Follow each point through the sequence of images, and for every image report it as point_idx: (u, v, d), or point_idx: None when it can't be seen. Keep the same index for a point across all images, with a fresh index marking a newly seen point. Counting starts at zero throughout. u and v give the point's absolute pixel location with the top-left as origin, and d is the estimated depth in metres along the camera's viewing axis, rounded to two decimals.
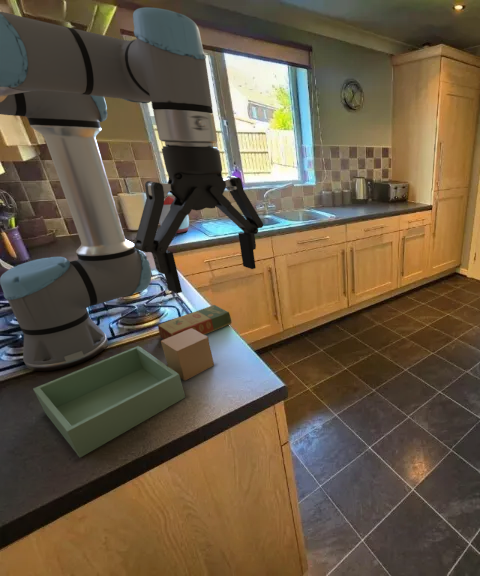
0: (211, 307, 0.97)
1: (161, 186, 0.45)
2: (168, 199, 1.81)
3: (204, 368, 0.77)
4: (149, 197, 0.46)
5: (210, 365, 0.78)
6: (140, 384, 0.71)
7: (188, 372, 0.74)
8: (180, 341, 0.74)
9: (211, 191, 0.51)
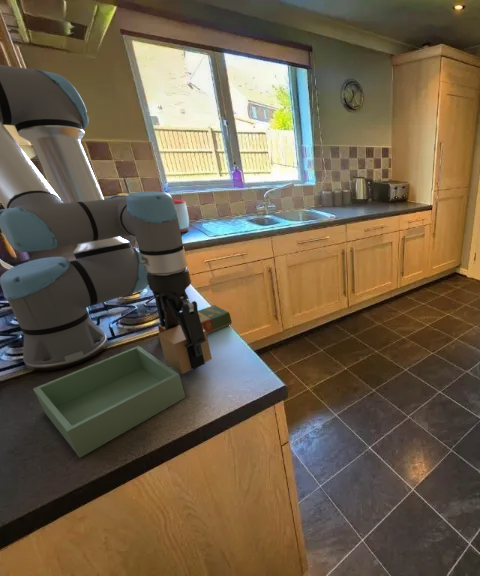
0: (211, 307, 0.97)
1: (154, 291, 0.72)
2: None
3: None
4: None
5: (208, 359, 0.78)
6: (140, 384, 0.71)
7: (185, 365, 0.73)
8: (178, 334, 0.73)
9: (166, 301, 0.69)
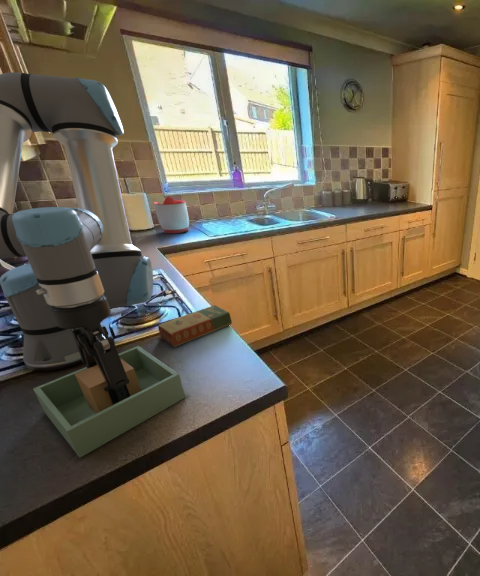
0: (211, 307, 0.97)
1: None
2: (168, 199, 1.81)
3: None
4: None
5: None
6: (140, 384, 0.71)
7: None
8: (98, 375, 0.62)
9: (78, 337, 0.57)
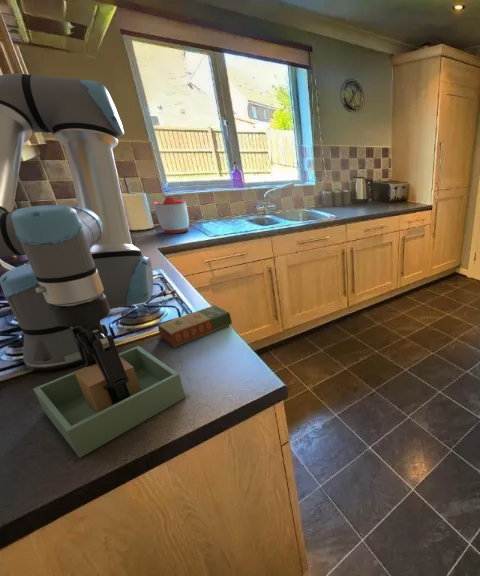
0: (212, 307, 0.97)
1: None
2: (168, 199, 1.81)
3: None
4: None
5: None
6: (140, 384, 0.71)
7: None
8: (97, 373, 0.62)
9: (77, 335, 0.57)
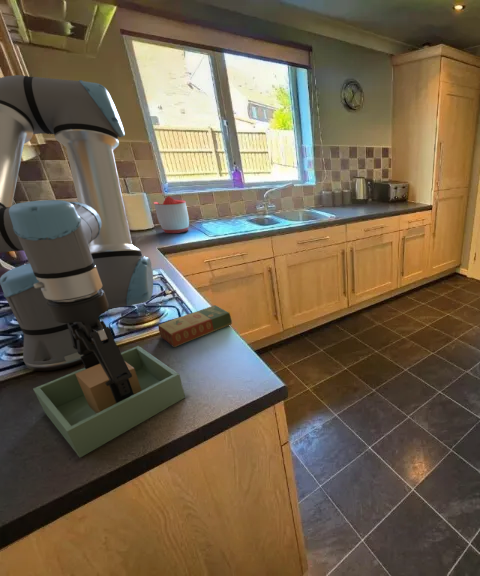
0: (212, 307, 0.97)
1: None
2: (168, 199, 1.81)
3: None
4: None
5: None
6: (140, 384, 0.71)
7: None
8: (98, 374, 0.62)
9: (76, 332, 0.57)
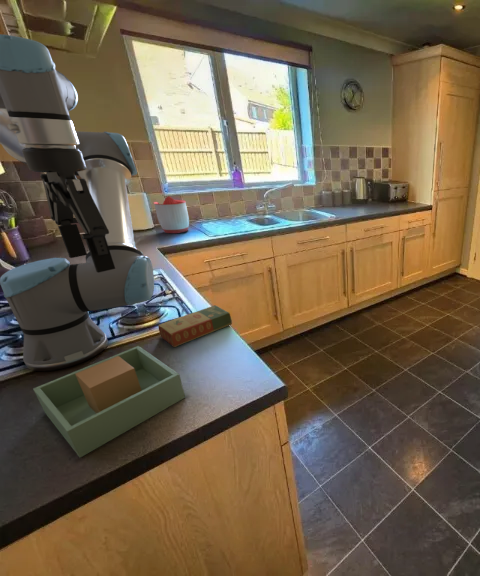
0: (212, 307, 0.97)
1: (42, 177, 0.61)
2: (168, 199, 1.81)
3: None
4: None
5: None
6: (140, 384, 0.71)
7: None
8: (98, 374, 0.62)
9: (52, 187, 0.57)
